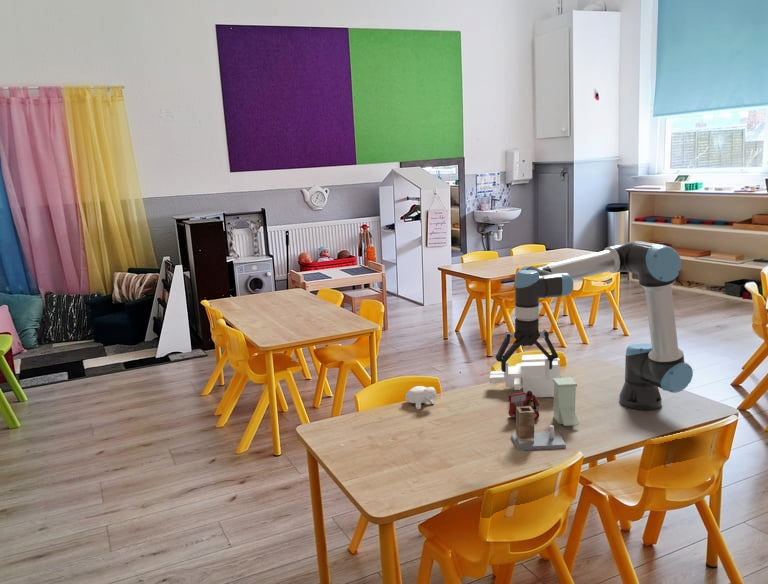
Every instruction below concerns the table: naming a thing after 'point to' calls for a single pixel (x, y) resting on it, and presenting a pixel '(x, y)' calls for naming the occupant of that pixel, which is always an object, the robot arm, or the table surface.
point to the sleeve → (525, 424)
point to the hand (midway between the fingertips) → (526, 379)
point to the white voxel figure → (530, 375)
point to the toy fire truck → (523, 403)
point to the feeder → (565, 401)
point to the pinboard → (542, 441)
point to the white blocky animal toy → (421, 395)
